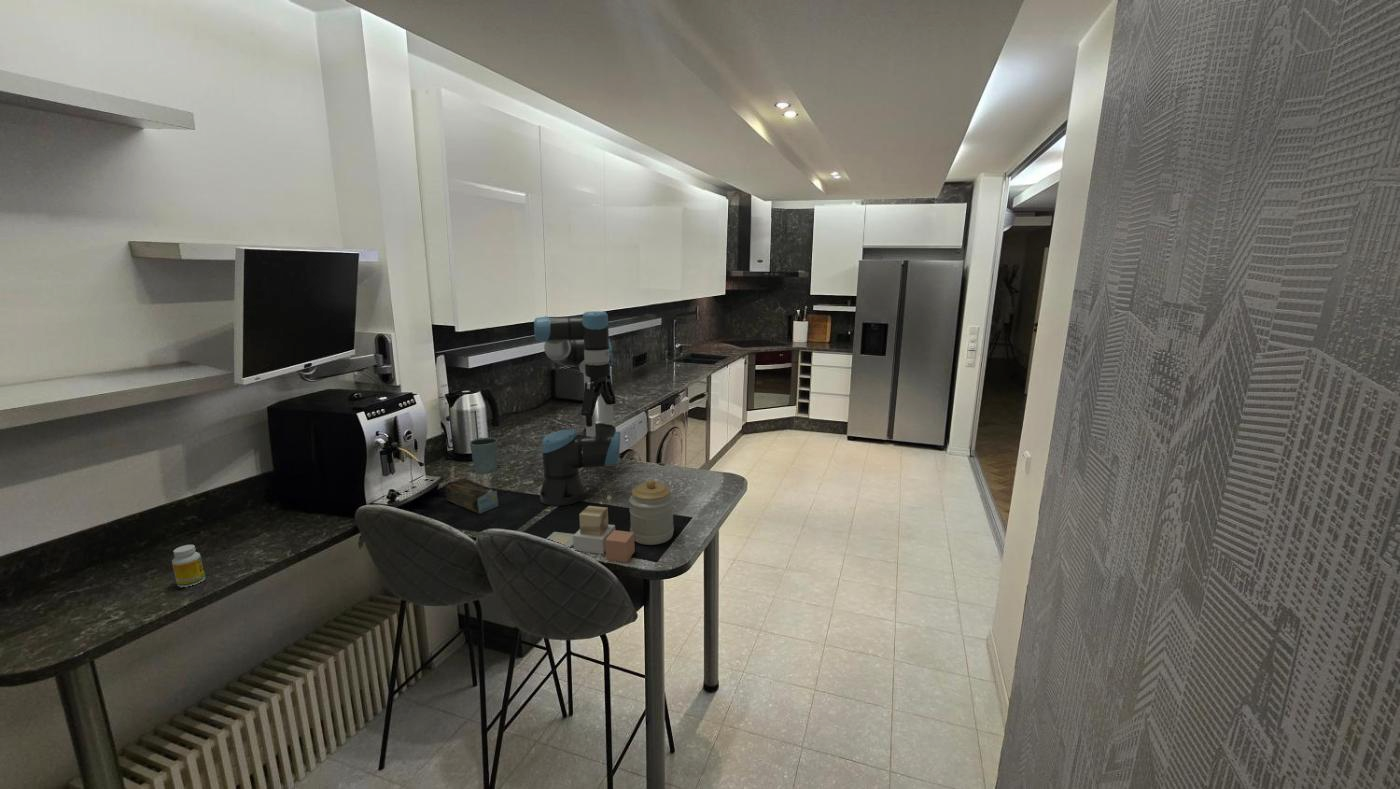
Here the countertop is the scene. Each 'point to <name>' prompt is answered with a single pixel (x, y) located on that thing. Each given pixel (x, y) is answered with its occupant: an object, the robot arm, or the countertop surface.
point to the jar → (651, 513)
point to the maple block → (593, 520)
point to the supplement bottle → (187, 566)
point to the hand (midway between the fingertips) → (600, 430)
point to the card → (562, 538)
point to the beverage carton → (471, 495)
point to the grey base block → (592, 541)
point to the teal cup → (484, 454)
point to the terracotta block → (620, 546)
